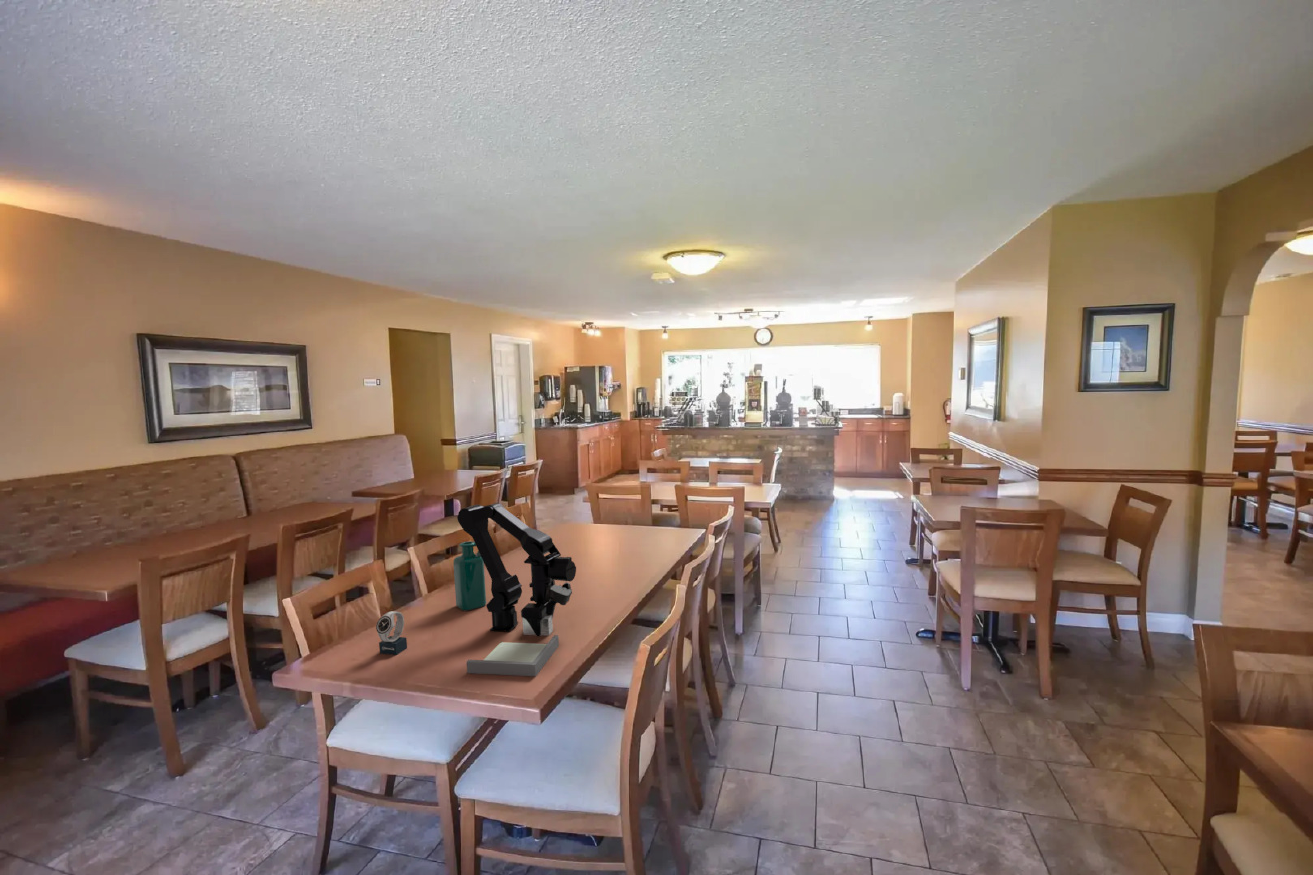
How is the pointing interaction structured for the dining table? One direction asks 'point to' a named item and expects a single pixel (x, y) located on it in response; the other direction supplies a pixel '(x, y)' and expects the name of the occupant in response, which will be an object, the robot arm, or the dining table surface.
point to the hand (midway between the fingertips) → (544, 629)
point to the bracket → (545, 628)
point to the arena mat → (515, 652)
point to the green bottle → (469, 578)
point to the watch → (384, 627)
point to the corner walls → (514, 663)
